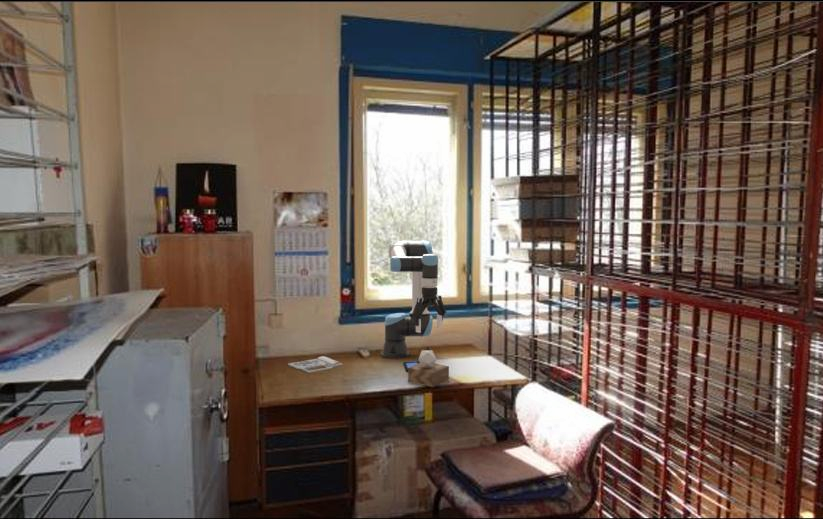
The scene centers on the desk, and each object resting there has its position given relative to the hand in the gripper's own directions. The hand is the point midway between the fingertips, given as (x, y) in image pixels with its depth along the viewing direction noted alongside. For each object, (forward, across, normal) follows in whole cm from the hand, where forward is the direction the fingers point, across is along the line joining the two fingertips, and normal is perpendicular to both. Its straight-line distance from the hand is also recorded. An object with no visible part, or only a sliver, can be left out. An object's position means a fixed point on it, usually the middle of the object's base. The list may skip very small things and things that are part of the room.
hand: (428, 330), depth 257 cm
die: (+17, -3, -3) cm, 18 cm away
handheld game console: (+24, +8, +17) cm, 31 cm away
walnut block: (+24, -2, -3) cm, 24 cm away
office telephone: (+25, -31, +52) cm, 66 cm away
